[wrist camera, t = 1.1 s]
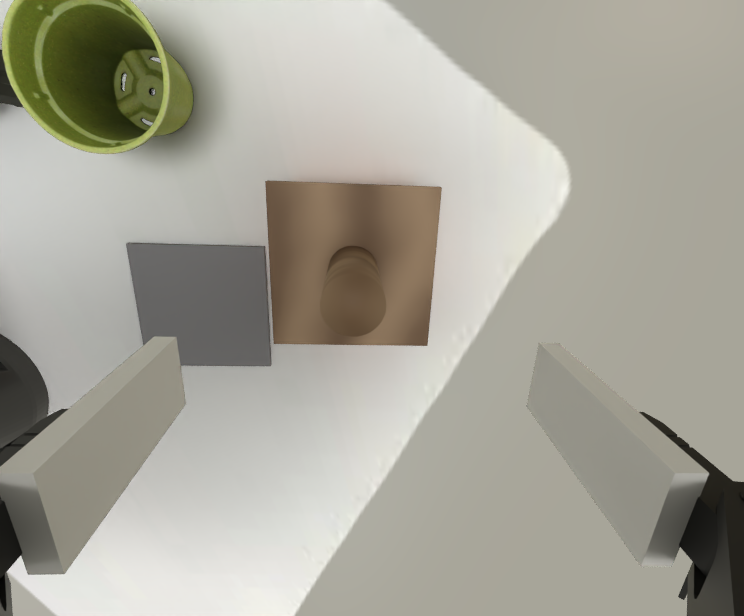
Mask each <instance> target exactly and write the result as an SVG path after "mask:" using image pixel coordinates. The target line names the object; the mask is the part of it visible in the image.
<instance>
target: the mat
mask: <svg viewBox="0 0 744 616" xmlns="http://www.w3.org/2000/svg"><path fill="white" fill-rule="evenodd" d="M126 246H127V252H128V258H129V263H130V269H131V275H132V281H133V287H134V292H135V298H136V304H137V310H138V316H139V321H140V327H141V333H142V339H143V345H145V344H146V343H147V342H148V341H149V340H151V339H152V338H153V337H154V336H157V337H177V345H178V352H179V359H180V365H189V366H271V352H270V333H269V315H268V297H267V279H266V261H265V246H226V245H188V244H150V243H127V244H126Z"/></svg>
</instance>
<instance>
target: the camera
mask: <svg viewBox="0 0 744 616" xmlns="http://www.w3.org/2000/svg"><path fill="white" fill-rule="evenodd" d="M0 103H5V104H10V105H14V106H17V107H23V105H22V104H21V102H20V100H19V99H18V97H17V95H16V93H15V91H14V90H13V88H12V86H11V84H10V81H9V78H8V76H7V72H6V68H5V63H4V59H3V54H2V50H0ZM23 108H24V107H23Z"/></svg>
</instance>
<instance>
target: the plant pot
mask: <svg viewBox="0 0 744 616" xmlns="http://www.w3.org/2000/svg"><path fill="white" fill-rule="evenodd" d="M2 54H3V59H4V63H5V68H6V72H7V76H8V78H9V81H10V84H11V86H12V88H13V90H14V91H15V93H16V95H17V97H18V99H19V100H20V102H21V104H22V105H23V107H24V108H25V109H26V111H27V112H28V113H29V114H30V116H31V117H32V118H33V119H34V120H35V121H36V122H37V123H38V124H39V125H40V126H41V127H42V128H43V129H44V130H46V131H47V132H48V133H49V134H51V135H52V136H53V137H55V138H56V139H58V140H60V141H62V142H63V143H65V144H67V145H69V146H72V147H74V148H77V149H80V150H83V151H87V152H91V153H99V154H115V153H122V152H126V151H129V150H132V149H135V148H137V147H139V146H141V145H142V144H144V143H145V142H147V141H148V140H149V139H150V138H151V137H153V136H160V135H165V134H170V133H172V132H174V131H176V130H178V129H179V128H180V127H182V126H183V125H184V124H185V123H186V122H187V120H188V119H189V117H190V114H191V112H192V107H193V91H192V86H191V84H190V81H189V79H188V77H187V75H186V73H185V72H184V70H183V69H182V67H181V66H180V65H179V63H178V62H177V61H176V60H175V59H174V58H173V57H172V56H171V55H170V54H169V53H168V52H167V51H166V50H165V49H164V48H163V46H162V43H161V41H160V39H159V37H158V35H157V33H156V31H155V30H154V28H153V26H152V25H151V23H150V22H149V21H148V19H147V18H146V17H145V15H144V14H143V13H142V12H141V11H140V9H139V8H138V7H137V6H136V5H135V4H134V3H133V2H131V1H130V0H14V1H13V3H12V4H11V6H10V8H9V9H8V12H7V14H6V17H5V20H4V24H3V31H2ZM150 57H158V58H160V61H161V64H160V63H158V62H156V61H153V60H150V59H149V58H150ZM123 73H126V74H127V77H126V81H125V91H122V90H121V76H122V74H123ZM151 88H153V89H154V90H155V95H154V96H152V95H150V93H149V89H151ZM141 118H144V119H146V120H148V121H150V122H153V124H152V126H149V125H146V124H144V123H143V122H142V121H141Z"/></svg>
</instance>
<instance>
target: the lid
mask: <svg viewBox="0 0 744 616" xmlns="http://www.w3.org/2000/svg"><path fill="white" fill-rule="evenodd" d="M265 182H266V202H267V221H268V241H269V260H270V280H271V299H272V318H273V338H274V344H331V345H413V346H427V343H428V332H429V321H430V310H431V299H432V288H433V277H434V266H435V255H436V244H437V233H438V222H439V211H440V200H441V189H442V187H430V186H402V185H374V184H346V183H318V182H290V181H265Z"/></svg>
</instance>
